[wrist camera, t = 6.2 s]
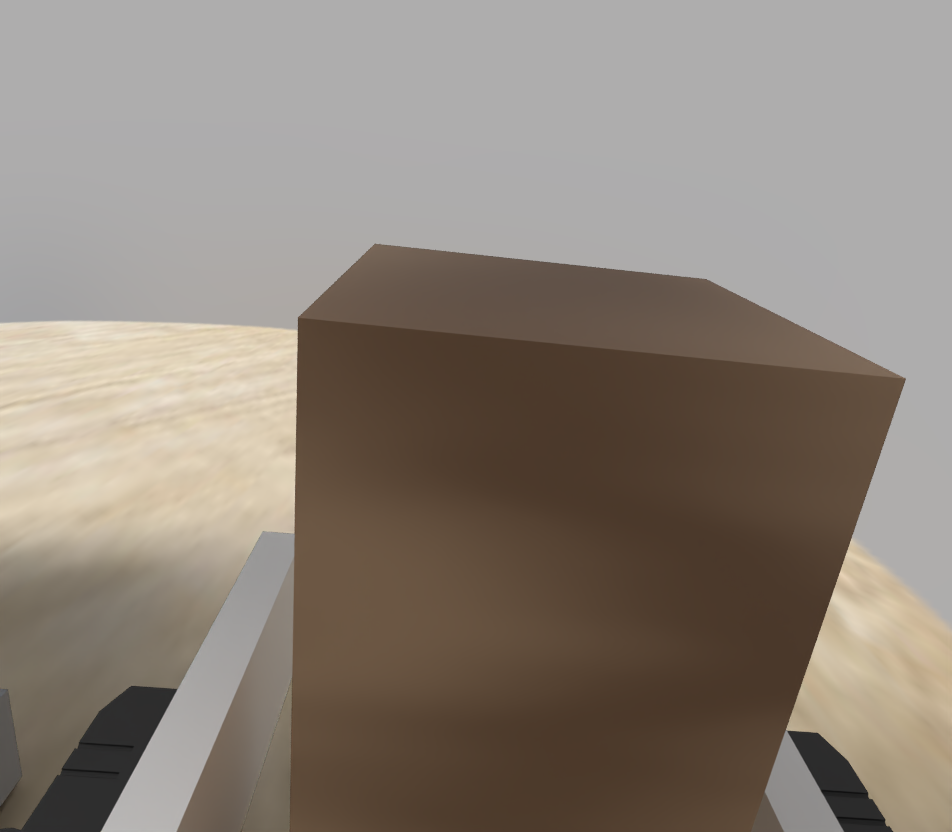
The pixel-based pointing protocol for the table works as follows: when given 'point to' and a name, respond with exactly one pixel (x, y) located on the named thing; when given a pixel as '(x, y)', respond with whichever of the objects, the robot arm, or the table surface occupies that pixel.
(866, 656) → the table surface
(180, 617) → the table surface
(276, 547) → the robot arm
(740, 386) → the wooden post on rail
